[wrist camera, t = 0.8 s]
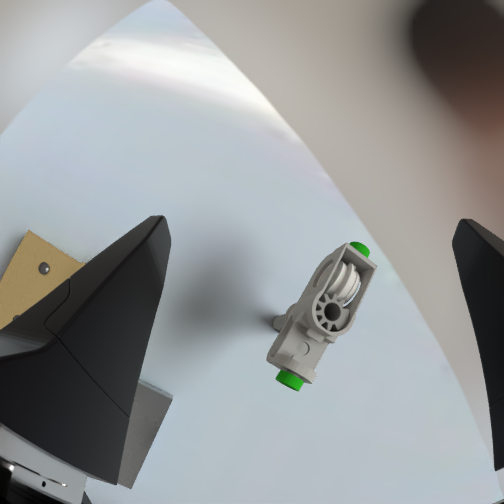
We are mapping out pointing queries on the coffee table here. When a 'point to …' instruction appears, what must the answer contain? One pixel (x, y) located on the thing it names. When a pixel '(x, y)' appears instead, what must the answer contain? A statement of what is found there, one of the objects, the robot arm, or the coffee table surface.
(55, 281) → the loose leaf
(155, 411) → the fixed leaf
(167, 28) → the coffee table surface
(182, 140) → the coffee table surface
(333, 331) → the mechanical component
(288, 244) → the coffee table surface
